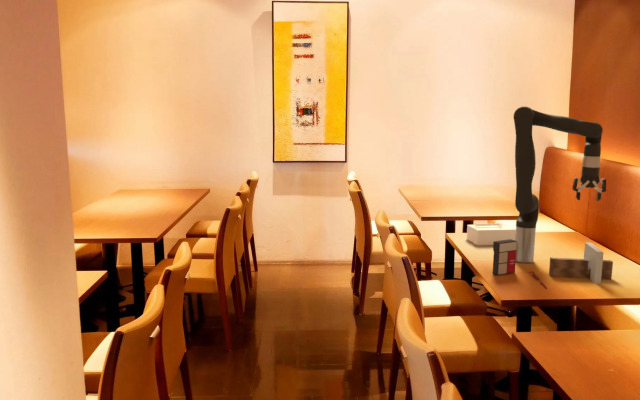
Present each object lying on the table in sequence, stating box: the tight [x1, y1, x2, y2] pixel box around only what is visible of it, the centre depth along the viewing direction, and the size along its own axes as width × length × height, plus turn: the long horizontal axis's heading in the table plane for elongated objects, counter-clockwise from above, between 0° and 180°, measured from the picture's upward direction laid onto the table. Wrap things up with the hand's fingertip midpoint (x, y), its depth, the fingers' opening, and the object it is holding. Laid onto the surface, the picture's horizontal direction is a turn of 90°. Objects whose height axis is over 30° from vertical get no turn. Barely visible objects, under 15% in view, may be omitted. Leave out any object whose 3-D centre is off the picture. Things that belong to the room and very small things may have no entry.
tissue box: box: [466, 220, 516, 246], centre depth 330 cm, size 14×25×11 cm, turn 98°
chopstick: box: [528, 271, 548, 290], centre depth 259 cm, size 2×24×1 cm, turn 176°
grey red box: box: [492, 239, 517, 276], centre depth 268 cm, size 11×4×15 cm, turn 117°
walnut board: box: [548, 257, 614, 280], centre depth 264 cm, size 26×2×8 cm, turn 81°
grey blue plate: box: [583, 241, 605, 285], centre depth 263 cm, size 18×2×14 cm, turn 172°
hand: (588, 200), depth 276 cm, fingers open, 8 cm apart
